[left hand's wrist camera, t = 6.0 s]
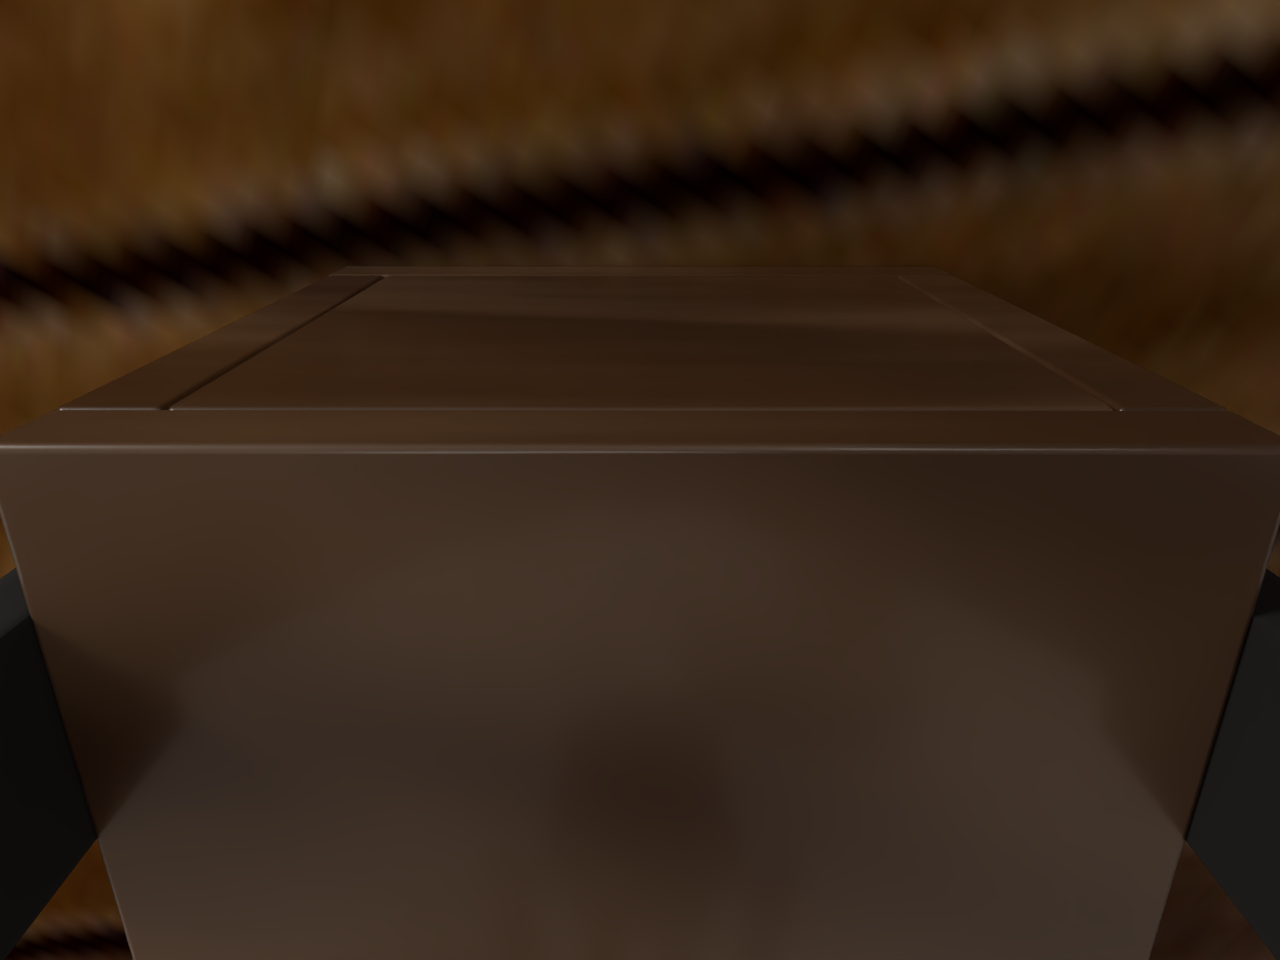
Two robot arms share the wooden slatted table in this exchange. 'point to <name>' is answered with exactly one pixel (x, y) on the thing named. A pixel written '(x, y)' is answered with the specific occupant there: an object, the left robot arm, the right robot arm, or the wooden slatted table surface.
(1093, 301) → the wooden slatted table surface
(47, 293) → the wooden slatted table surface
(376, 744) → the cabinet
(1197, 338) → the wooden slatted table surface
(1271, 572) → the left robot arm
